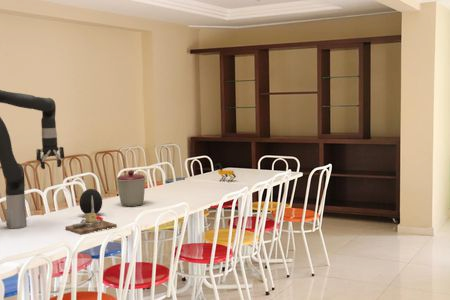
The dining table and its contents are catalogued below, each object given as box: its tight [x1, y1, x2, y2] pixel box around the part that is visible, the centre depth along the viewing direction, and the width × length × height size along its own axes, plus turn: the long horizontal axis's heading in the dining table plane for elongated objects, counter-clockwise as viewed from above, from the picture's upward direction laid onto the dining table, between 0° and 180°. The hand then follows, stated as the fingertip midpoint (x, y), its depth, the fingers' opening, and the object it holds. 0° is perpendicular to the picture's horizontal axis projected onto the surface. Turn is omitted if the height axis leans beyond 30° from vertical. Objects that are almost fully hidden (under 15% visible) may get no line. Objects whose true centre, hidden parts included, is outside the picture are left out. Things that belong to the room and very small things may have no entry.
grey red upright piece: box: [91, 196, 104, 221], centre depth 319 cm, size 8×13×9 cm
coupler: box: [84, 213, 98, 223], centre depth 301 cm, size 4×4×6 cm
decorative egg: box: [79, 188, 103, 215], centre depth 332 cm, size 12×12×15 cm
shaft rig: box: [65, 218, 118, 236], centre depth 301 cm, size 20×16×4 cm
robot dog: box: [213, 162, 237, 183], centre depth 439 cm, size 6×18×13 cm, turn 55°
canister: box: [115, 169, 147, 207], centre depth 358 cm, size 18×18×21 cm
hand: (51, 167), depth 308 cm, fingers open, 8 cm apart
